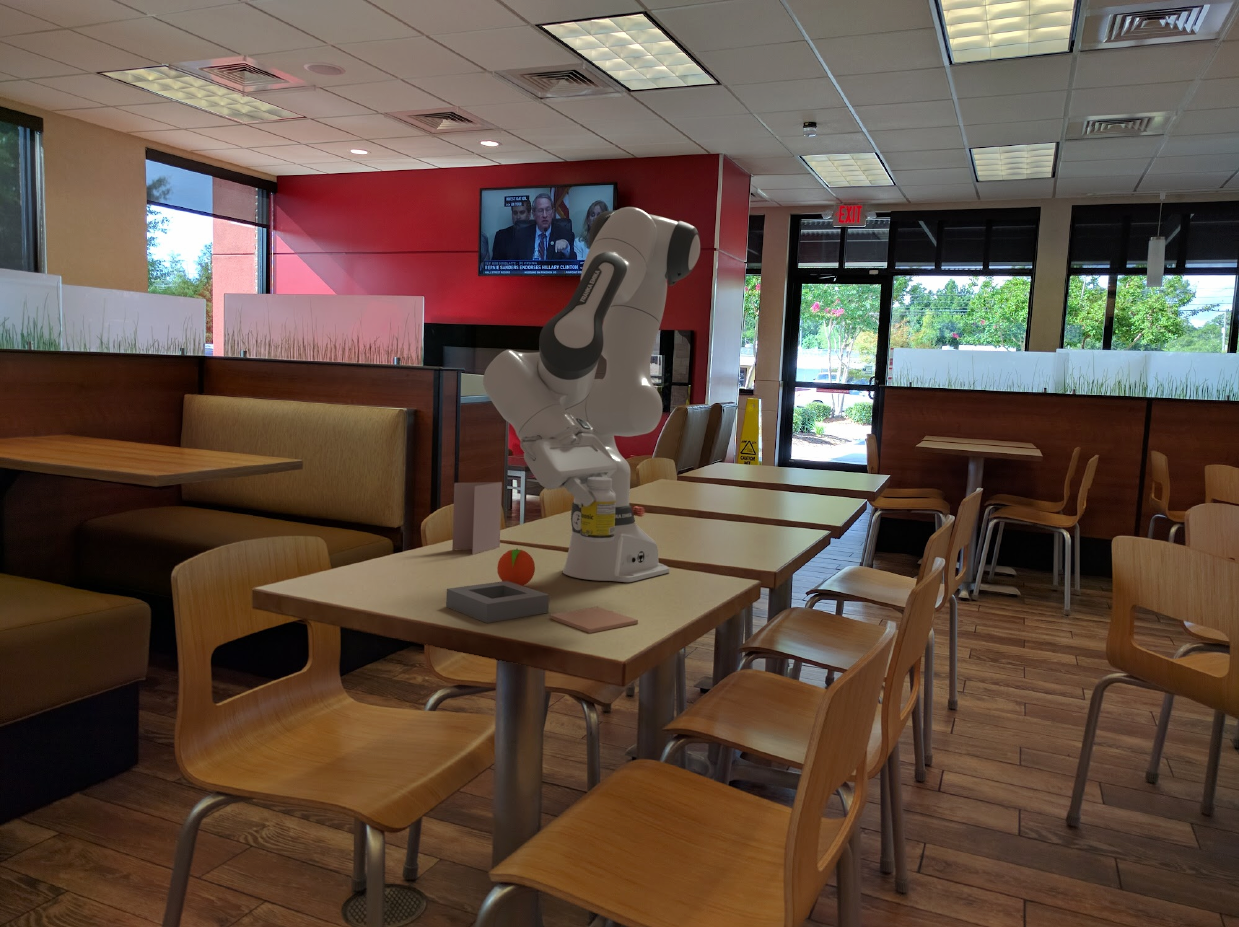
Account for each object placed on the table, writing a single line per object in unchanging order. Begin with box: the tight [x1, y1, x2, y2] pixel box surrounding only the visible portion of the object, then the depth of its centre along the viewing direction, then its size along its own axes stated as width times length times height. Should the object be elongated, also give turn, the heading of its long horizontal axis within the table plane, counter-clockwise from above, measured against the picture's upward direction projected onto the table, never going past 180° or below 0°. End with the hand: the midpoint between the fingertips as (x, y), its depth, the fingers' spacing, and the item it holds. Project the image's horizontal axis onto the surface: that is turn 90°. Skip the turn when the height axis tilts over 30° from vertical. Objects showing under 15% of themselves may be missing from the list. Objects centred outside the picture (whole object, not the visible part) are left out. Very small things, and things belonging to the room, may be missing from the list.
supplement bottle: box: [580, 477, 616, 542], centre depth 138 cm, size 5×5×10 cm
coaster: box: [549, 606, 639, 634], centre depth 139 cm, size 10×10×1 cm
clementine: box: [496, 549, 536, 586], centre depth 160 cm, size 8×7×7 cm
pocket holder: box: [445, 580, 550, 624], centre depth 143 cm, size 12×12×3 cm
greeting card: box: [451, 481, 503, 556], centre depth 194 cm, size 11×7×15 cm, turn 122°
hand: (602, 501), depth 137 cm, fingers closed on supplement bottle, 5 cm apart
